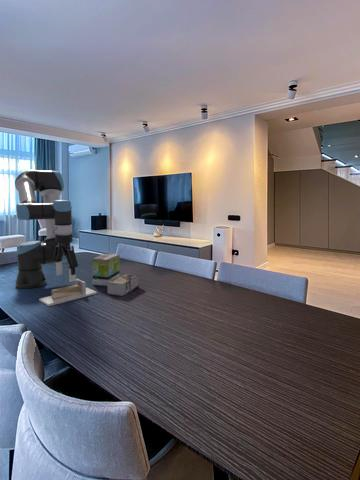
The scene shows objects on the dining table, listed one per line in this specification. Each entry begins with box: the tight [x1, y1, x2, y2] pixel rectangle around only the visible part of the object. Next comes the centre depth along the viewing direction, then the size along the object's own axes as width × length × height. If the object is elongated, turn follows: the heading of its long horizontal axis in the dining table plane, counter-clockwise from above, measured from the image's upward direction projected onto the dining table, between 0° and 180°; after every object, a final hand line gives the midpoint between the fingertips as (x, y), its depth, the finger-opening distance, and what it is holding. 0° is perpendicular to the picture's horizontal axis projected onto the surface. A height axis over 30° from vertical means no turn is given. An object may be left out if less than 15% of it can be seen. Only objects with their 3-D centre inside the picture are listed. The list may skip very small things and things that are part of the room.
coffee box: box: [106, 274, 140, 297], centre depth 155 cm, size 9×6×16 cm
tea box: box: [91, 253, 121, 286], centre depth 170 cm, size 15×10×15 cm, turn 168°
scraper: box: [51, 278, 87, 300], centre depth 144 cm, size 8×14×6 cm, turn 136°
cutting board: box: [38, 286, 98, 307], centre depth 145 cm, size 10×24×1 cm, turn 136°
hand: (65, 278), depth 143 cm, fingers open, 13 cm apart
